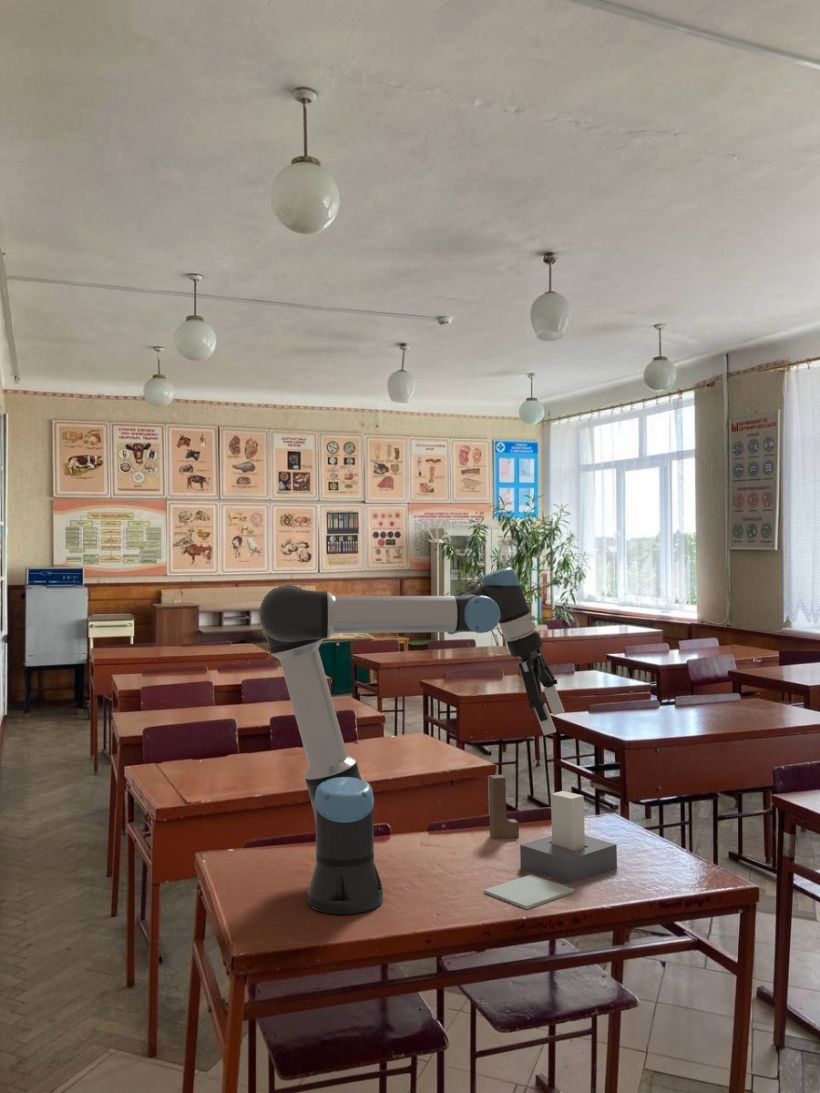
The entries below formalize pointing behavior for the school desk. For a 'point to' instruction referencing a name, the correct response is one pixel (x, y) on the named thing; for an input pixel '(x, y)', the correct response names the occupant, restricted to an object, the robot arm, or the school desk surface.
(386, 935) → the school desk surface
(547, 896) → the mat
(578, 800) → the plug
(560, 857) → the socket block
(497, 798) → the wooden block
